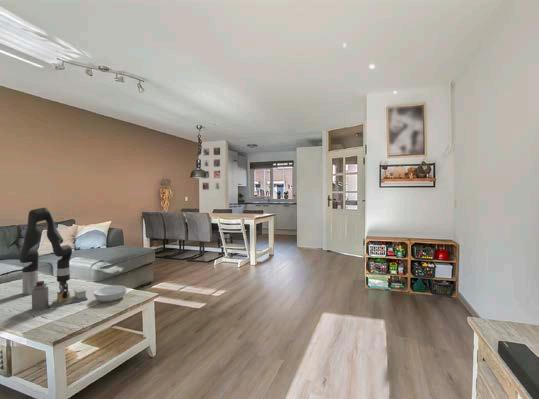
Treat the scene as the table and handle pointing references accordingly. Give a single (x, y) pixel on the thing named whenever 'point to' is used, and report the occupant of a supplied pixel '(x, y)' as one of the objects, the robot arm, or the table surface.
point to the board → (72, 300)
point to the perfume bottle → (40, 296)
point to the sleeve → (60, 297)
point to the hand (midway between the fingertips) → (63, 296)
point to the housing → (80, 293)
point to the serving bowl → (110, 293)
